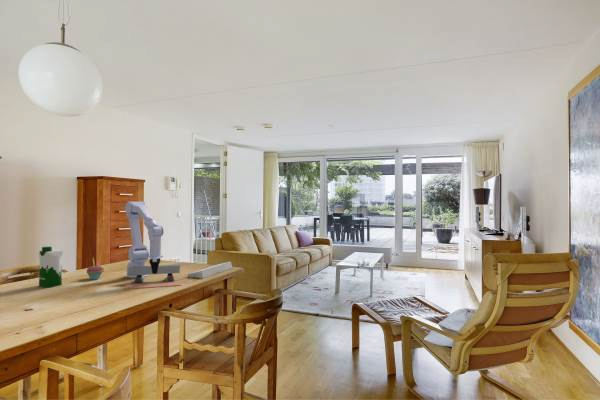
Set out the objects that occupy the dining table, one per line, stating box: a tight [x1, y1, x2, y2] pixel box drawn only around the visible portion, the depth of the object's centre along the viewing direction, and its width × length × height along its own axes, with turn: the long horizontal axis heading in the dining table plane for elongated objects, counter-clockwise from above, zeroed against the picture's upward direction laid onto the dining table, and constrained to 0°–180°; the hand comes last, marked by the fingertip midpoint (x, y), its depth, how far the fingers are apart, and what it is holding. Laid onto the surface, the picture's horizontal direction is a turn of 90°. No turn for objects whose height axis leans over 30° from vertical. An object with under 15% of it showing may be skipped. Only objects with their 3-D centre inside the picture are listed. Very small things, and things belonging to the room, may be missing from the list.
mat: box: [124, 280, 182, 290], centre depth 184 cm, size 27×9×1 cm, turn 111°
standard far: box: [165, 273, 175, 282], centre depth 197 cm, size 4×11×5 cm, turn 21°
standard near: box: [133, 275, 145, 284], centre depth 191 cm, size 4×11×5 cm, turn 21°
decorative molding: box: [187, 261, 233, 279], centre depth 220 cm, size 34×5×10 cm
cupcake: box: [86, 257, 105, 280], centre depth 197 cm, size 9×8×12 cm
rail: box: [128, 264, 181, 276], centre depth 193 cm, size 26×4×4 cm, turn 111°
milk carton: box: [38, 246, 64, 289], centre depth 179 cm, size 9×9×20 cm
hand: (154, 272), depth 193 cm, fingers closed on rail, 4 cm apart
